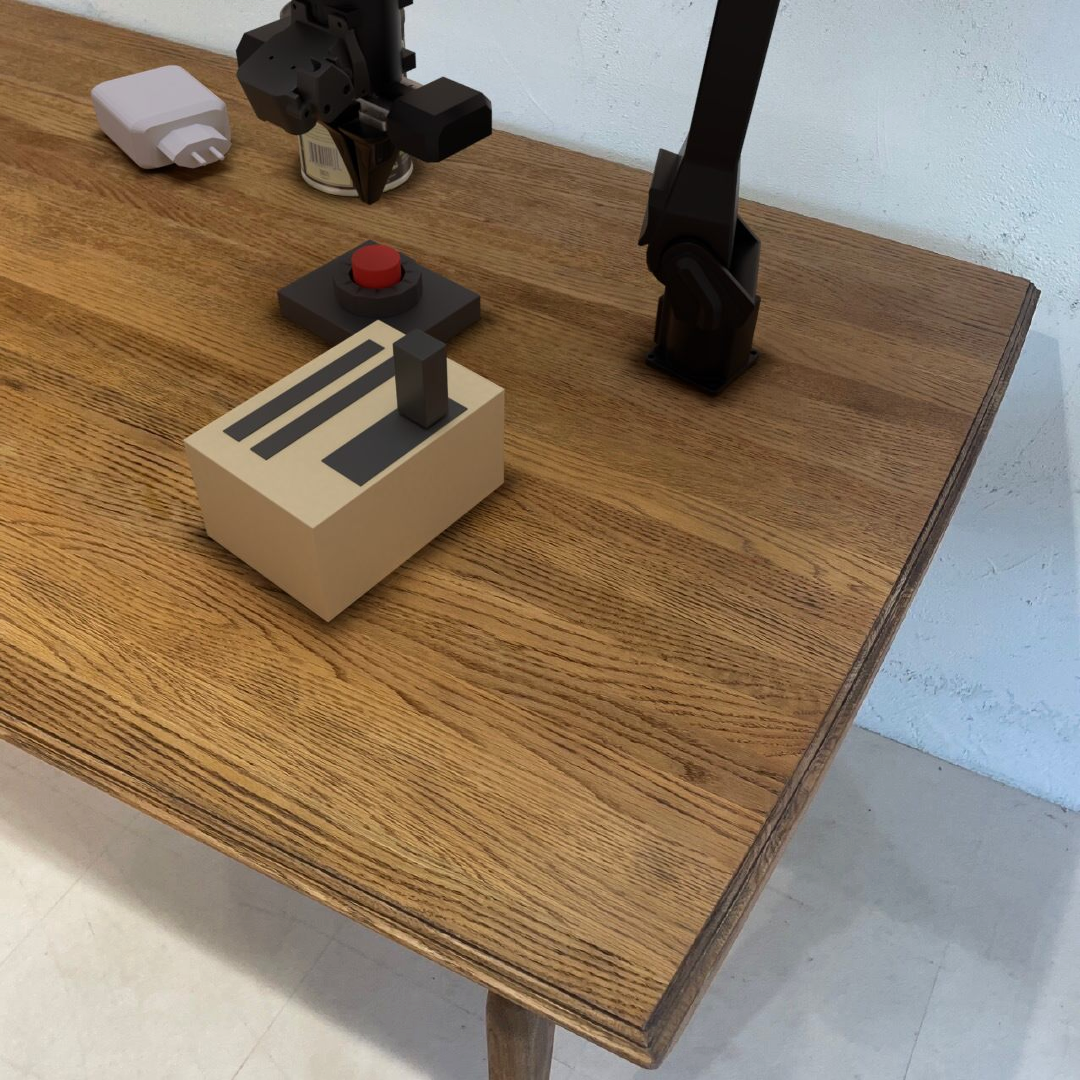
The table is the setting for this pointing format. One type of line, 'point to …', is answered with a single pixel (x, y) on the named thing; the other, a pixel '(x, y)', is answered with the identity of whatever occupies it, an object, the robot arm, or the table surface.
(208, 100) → the charger
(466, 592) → the table surface
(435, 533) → the toaster
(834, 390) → the table surface
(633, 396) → the table surface
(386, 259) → the button
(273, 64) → the robot arm
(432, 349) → the slider
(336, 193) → the coffee can
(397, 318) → the control block
